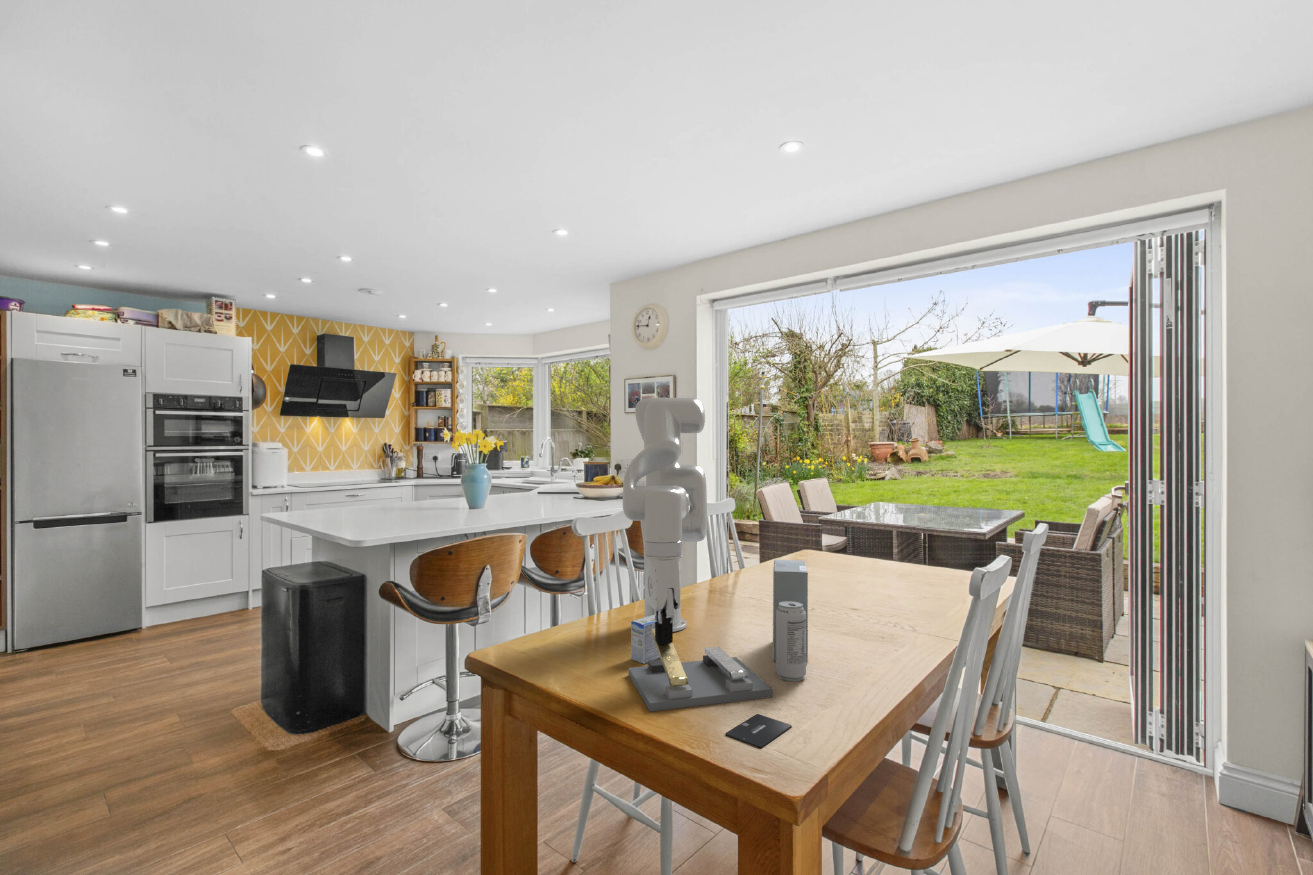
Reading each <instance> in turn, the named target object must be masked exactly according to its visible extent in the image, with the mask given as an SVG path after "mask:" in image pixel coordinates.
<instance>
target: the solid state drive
mask: <svg viewBox="0 0 1313 875" xmlns="http://www.w3.org/2000/svg"><path fill="white" fill-rule="evenodd" d="M790 729H792V725H791V724H789V723H787V722H784V721H780V720H778V719H774V718H772V717H769V716H766V715H762V714H760V713H756V714H754V715H752V716H751V717H749V718H748V719H746V720H744V721H743V722H741V723H740V724H738V725H737V726H735V727H733V728H732V729H730V730H728V731H727V732H726V731H725V736H726V737H728V738H730V739H733V740H736V741H739V742H741V743H743V744H746V745H749V746H751V747H754V748H757V749H760V750H761V749H763V748H765V747H766V746H768V745H769V744H771V743H772V742H773V741H774V740H776V739H777V738H779V737H780V736H782V735H783V734H785V733H786V732H788V731H789V730H790Z"/></svg>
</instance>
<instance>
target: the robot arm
mask: <svg viewBox="0 0 1313 875" xmlns="http://www.w3.org/2000/svg"><path fill="white" fill-rule="evenodd" d="M634 411H635V413H634V414H635V420H636V425H637V427H638V430H639V433H640V436H641V437H642V438H641V439H642V440H643V449H642V450H641V451H640V452H639V453H638V454H637V455H635V457H634V458H633V459H632V460H631V461H630V463H629V464H628V466H627V468H626V469H625V470H626V471H625V473H624V476H623V483H622V484H623V486H622V490H623V491H622V510H623V511H622V512H623V514H624V515H625V518H627V519H628V520H629V521H633V522H640V528H641V536H642V542H643V544H642V545H643V558H644V559H643V562H644V563H643V565H644V566H643V570H644V571H643V572H644V573H643V574H644V575H643V576H644V578H643V579H644V580H643V581H644V587H643V588H644V590H643V592H644V594H643V595H644V598H643V601H644V603H643V604H644V610H643V612H644V617H648V616H651V615H655V621H658V622H655V641H656V642H657V643H658V644H666V643H672V642H674V640H673V639H674V636H673V635H674V632H679V631H682V630H684V629H685V628H686V627H687V620H686V619H685V618H683V617H682V616H681V559H682V558H683V543H697V542H702V541H703V540H704V539H706V537H707V532H708V502H707V501H708V500H707V499H708V497H707V496H708V495H707V492H708V490H707V478H706V473H705V471H704V469H703V468H702V467H701V466H700V465H697V464H679V462H678V461H679V458H680V456H681V452H682V447H681V446H682V445H681V434H700V433H701V432H702V431H703V430H704V428H705V423H706V411H705V407H704V404H703V402H702V401H701V400H700V399H699V398H697V397H648V398H644V399H641V400H639V401H638V402H637V403H636V405H635V410H634ZM644 477H645V483H646V484H645V485H637V484H638V482H639V481H640V480H641V479H642V478H644Z"/></svg>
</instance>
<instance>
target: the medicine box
mask: <svg viewBox="0 0 1313 875" xmlns="http://www.w3.org/2000/svg"><path fill="white" fill-rule="evenodd" d="M655 622H658V621H655V615H651V616H648V617H645V616H644V617H641V618H638V619H635V620H632V621H631V622H630V630H631V631H630V634H631V635H630V640H631V641H630V642H631V643H630V645H631V646H630V647H631V648H630V650H631V652H630V653H631V654H630V655H631V656H630V658H631V660H633V661H634V662H637V661H638V663H640V664H643V665H644V664H648V661H653V660H660V659H661V658H660V656H659V653H658V650H657V648H656V645H655V642H654V639H653V637H652V634H651V629H655Z"/></svg>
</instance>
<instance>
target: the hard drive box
mask: <svg viewBox="0 0 1313 875" xmlns="http://www.w3.org/2000/svg"><path fill="white" fill-rule="evenodd" d="M772 572H773V573H772V583H773V584H772V590H773V591H772V592H773V593H772V661H775V662H776V610H777V608H778V606H779V602H782V601H796V602H800V603H802V604H803V609H804V610H805V612H806V664H808V663H809V661H808V660H809V658H808V653H809V649H808V648H809V647H808V645H809V644H808V642H809V639H808V638H809V636H808V635H809V634H808V633H809V630H808V629H809V626H808V623H809V622H808V620H809V619H808V618H809V615H808V614H809V611H808V610H809V609H808V608H809V607H808V605H809V604H808V603H809V602H808V601H809V600H808V597H809V594H808V593H809V591H808V590H809V588H808V587H809V586H808V585H809V580H808V578H809V575H808V574H809V572H808V568H807V564H806V560H798V559H797V560H794V559H774V560H773V570H772Z"/></svg>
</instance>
